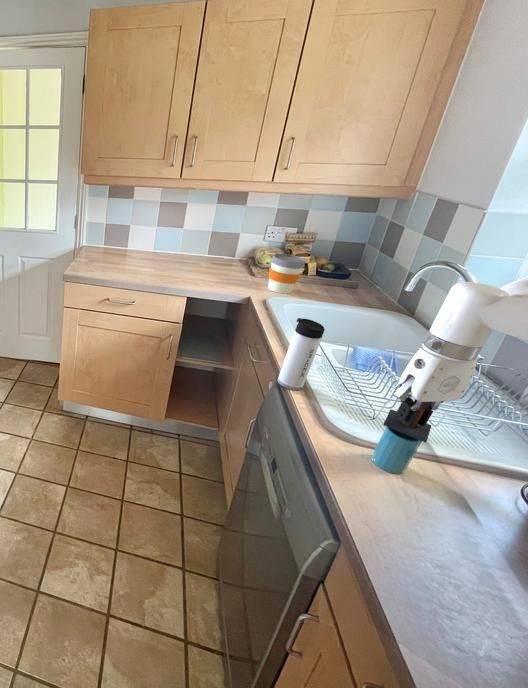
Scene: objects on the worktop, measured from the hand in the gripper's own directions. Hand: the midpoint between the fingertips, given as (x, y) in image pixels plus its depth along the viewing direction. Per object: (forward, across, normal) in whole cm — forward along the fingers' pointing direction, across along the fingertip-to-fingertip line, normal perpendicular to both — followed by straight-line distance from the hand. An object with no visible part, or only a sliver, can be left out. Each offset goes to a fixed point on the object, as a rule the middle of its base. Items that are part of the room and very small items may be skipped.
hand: (409, 421), depth 87 cm
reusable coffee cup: (+12, +46, +100) cm, 111 cm away
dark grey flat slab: (+1, 0, 0) cm, 1 cm away
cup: (+12, 0, 0) cm, 12 cm away
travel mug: (+12, -1, +30) cm, 32 cm away
